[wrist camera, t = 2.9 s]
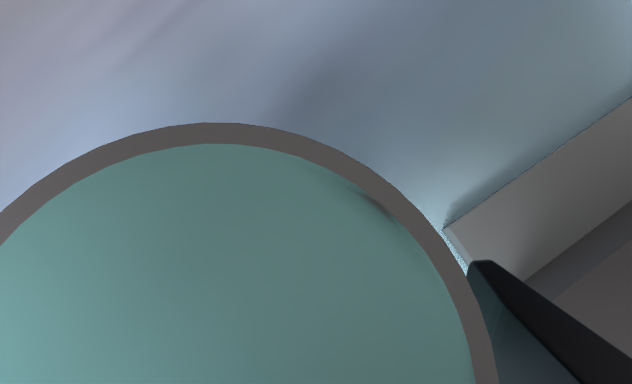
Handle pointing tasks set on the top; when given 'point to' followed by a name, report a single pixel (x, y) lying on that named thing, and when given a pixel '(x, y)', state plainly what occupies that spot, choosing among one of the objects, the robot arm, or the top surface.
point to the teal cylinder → (230, 270)
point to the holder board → (567, 227)
